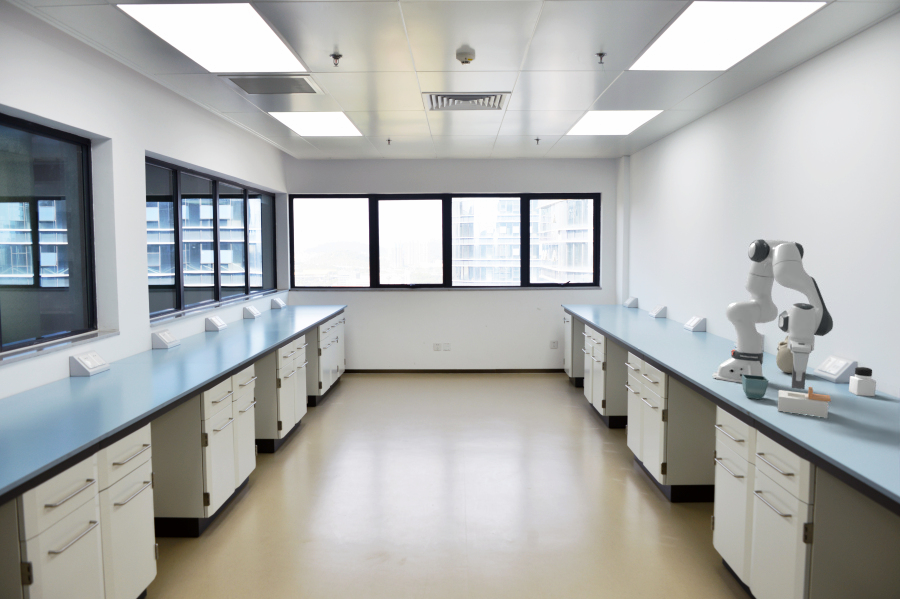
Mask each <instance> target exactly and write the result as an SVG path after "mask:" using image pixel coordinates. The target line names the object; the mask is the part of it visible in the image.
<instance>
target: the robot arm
mask: <svg viewBox="0 0 900 599" xmlns="http://www.w3.org/2000/svg"><path fill="white" fill-rule="evenodd" d="M804 253H805V250H804V247H803V245H802V244H801V243H799V242H795V241H788V240H780V239H777V240H776V239H755V240H753V241H752V242H751V243H750V245H749V247H748V253H747V254H748V258H749V260H751V263H750V266H749V269H748V273H747V277H746V282H745V286H744V287H745V289H746V290H747V292H748V293H749V294H750V300H743V301H742V300H739V301H735V302H731V303H730V304H729V305H727V307H726V309H725V315H726V318H727V320H728V321H729V322H730V323H732V325H733V327H734V330H735V333H736V349H732V350H731V351H730V352H731V353H730V354H731V357H730V358H728V359H726V360H725V361H723V362H721V363H720V364H719V366H718V368H717V371H714V372H713V373H712V378H713V377H714V379H715V378H716V379H717V380H722V381H728V382H735V383H741V384H742V375H755V376H764V375H763V363H764V352H763V346H764V337H763V335H762V334H761V333H760V332H758V331H757V328H756V324H766V323H770V322H774V321H776V319H777V318H778V328H779V329H780V330H781V331H782V332H784V333H786V334H788V335H787V336H788V345H787V348H789V349H790V350H791V353H793V363H794V370H795V371H796V381H801V379H802V373H803V372H805V371H806V372H807V367H808V363H809V357H810V354H811V353H812V352H813V351H815V338H816V336H820V337H824V336H825V335H828V334H829V333H830V332H831V331H833V328H834V321H833V317H832V315H831V313H830V311H829V310H828V308H827V305H826V303H825V300H824V298H823V296H822V293H821V290H820V288H819V286H818V283H817V281H816V279H815V278H814V277H812V276H810V275H809V273H807V271H806V270H805V268H804V265H803V264H804V263H803V258H804ZM774 281H776V282H777V284H779V285H780V286H782V287H784V288H788V289H791V290H795V291H796V292H798V293H801V294H803V295H804V296H806V298H807V300H808V303H803V302H797V303H796V302H795V303H794V304H792V305H791V306H790V308H789V309H786V310H783V311H782V312H781V313H780V314H779V311H778V307H777V305H776V304H775V303H774V301H773V298H772V297H773V296H772V290H773V285H774ZM778 314H779V315H778Z"/></svg>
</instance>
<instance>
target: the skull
mask: <svg viewBox="0 0 900 599" xmlns="http://www.w3.org/2000/svg"><path fill="white" fill-rule="evenodd" d="M787 345H788V335H786V336H785V340H784V341H779V342H778V347H777V348H776V350H777V354H776V358H775V359H776V366H777V368H778V369H779V370H780V371H782V372H784V373H786V374H787V373H788V374H792V372H793V364H794V363H793V353H791V350H790V349H789V348H787Z"/></svg>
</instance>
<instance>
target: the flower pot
mask: <svg viewBox="0 0 900 599" xmlns="http://www.w3.org/2000/svg"><path fill="white" fill-rule="evenodd" d="M741 384H742V389H743V393H744V394H745V396H746V397H747V398H748V399H754V398H755V399H757V400H762V399H763V398H764V397H765V395H766V393H767V389H768V385H769V379H768V378H766V377H765V376H764V375H763V376H755V375H742V383H741ZM755 399H754V400H755Z"/></svg>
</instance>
